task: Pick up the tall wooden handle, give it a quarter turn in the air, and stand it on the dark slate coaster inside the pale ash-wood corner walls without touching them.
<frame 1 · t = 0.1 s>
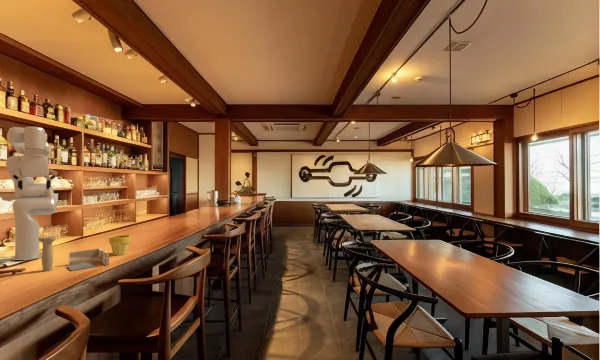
hand: (34, 189, 145), 37 cm above the table, tool pointing down, fingers open, 9 cm apart
coaster: (82, 266, 145), on the table
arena: (88, 265, 148), resting in coaster
plant pot: (120, 254, 171), on the table
handle: (47, 270, 139), on the table
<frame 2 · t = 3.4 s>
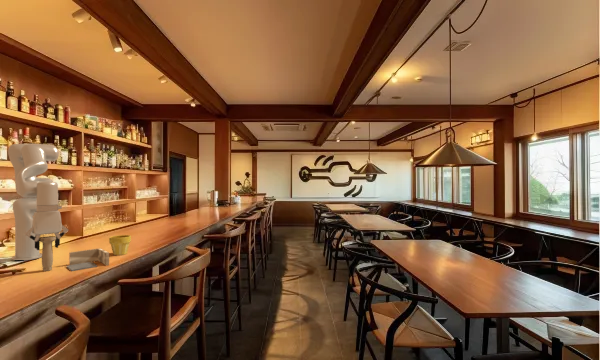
hand: (47, 248, 139), 10 cm above the table, tool pointing down, fingers closed on handle, 6 cm apart
handle: (47, 270, 139), on the table, touching gripper
everything else where it was.
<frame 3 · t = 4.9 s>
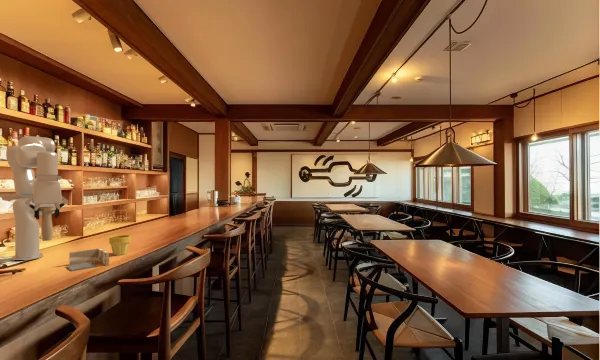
hand: (47, 218, 140), 24 cm above the table, tool pointing down, fingers closed on handle, 6 cm apart
handle: (46, 240, 140), point 13 cm above the table, touching gripper
everything else where it was.
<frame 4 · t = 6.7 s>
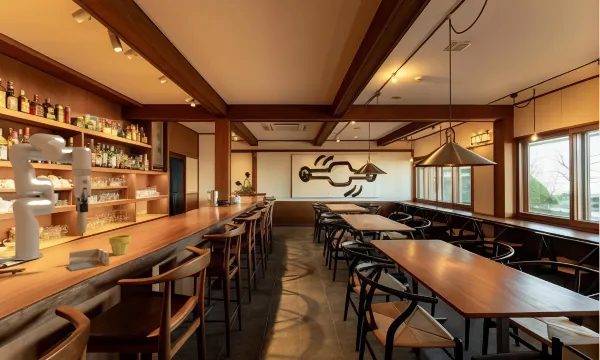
hand: (81, 211, 145), 26 cm above the table, tool pointing down, fingers closed on handle, 6 cm apart
handle: (81, 233, 145), point 16 cm above the table, touching gripper
everything else where it was.
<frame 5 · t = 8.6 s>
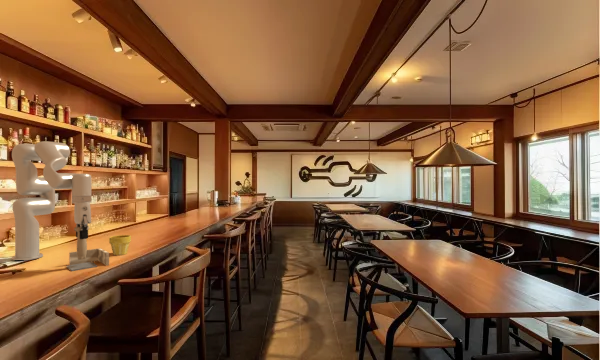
hand: (82, 237, 145), 14 cm above the table, tool pointing down, fingers closed on handle, 6 cm apart
handle: (81, 259, 145), point 4 cm above the table, touching gripper
everything else where it was.
when the fingers open (11 cm above the table, at t = 10.1 s): handle stays where it is, resting on coaster.
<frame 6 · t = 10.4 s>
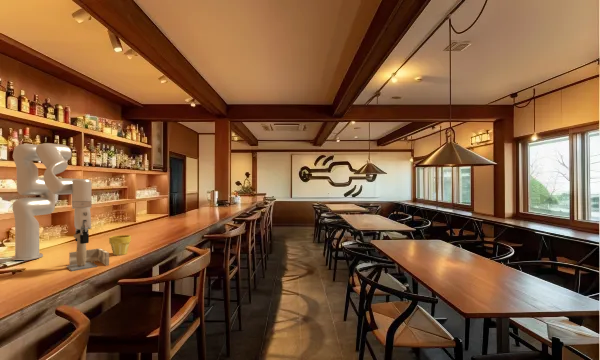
hand: (81, 241, 145), 12 cm above the table, tool pointing down, fingers open, 8 cm apart
handle: (81, 266, 145), resting on coaster
everything else where it was.
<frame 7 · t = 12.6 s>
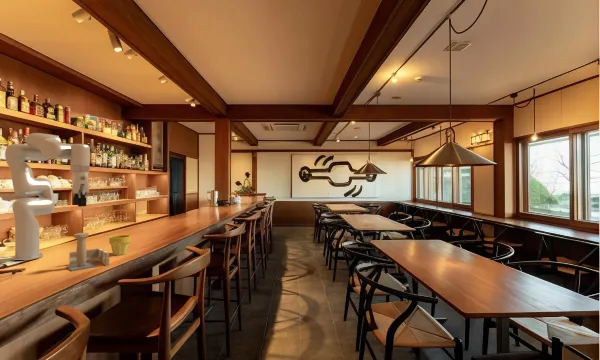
hand: (79, 205, 147), 29 cm above the table, tool pointing down, fingers open, 9 cm apart
nothing on the table moved.
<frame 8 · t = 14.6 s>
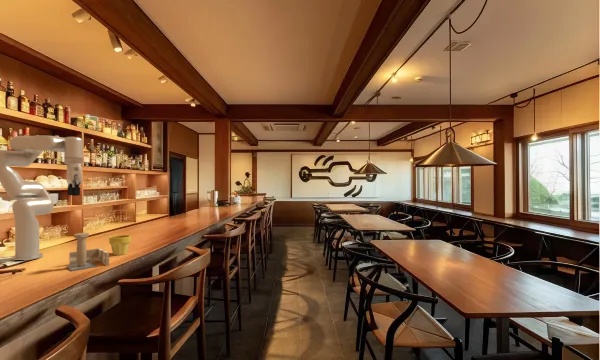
hand: (73, 195, 156), 33 cm above the table, tool pointing down, fingers open, 9 cm apart
nothing on the table moved.
at the end: handle inside the target area (0.2 cm from its centre), resting on coaster; handle tilted 0°; handle touching coaster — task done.
